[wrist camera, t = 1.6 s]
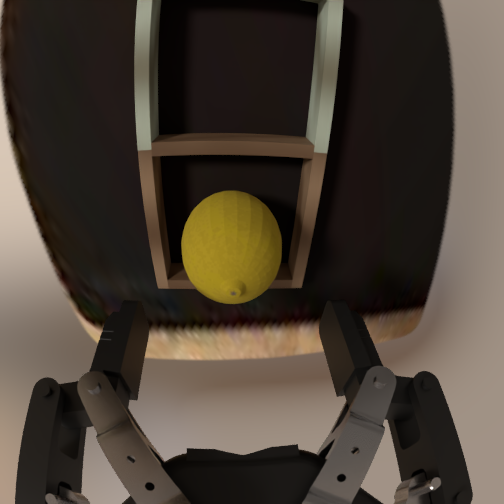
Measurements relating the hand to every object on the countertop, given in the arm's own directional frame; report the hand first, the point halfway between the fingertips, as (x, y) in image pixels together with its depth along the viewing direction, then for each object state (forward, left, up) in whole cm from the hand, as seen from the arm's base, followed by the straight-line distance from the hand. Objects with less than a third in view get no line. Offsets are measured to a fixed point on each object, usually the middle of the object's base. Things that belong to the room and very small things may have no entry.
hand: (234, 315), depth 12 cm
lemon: (0, 0, -9) cm, 9 cm away
